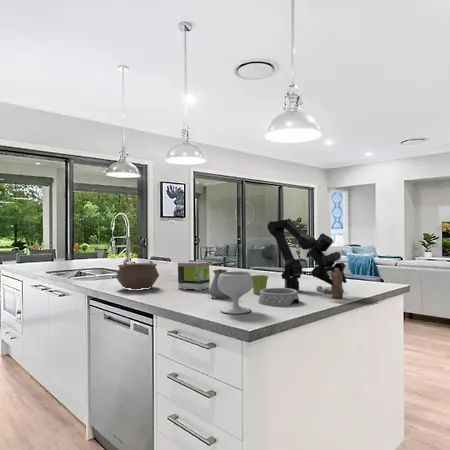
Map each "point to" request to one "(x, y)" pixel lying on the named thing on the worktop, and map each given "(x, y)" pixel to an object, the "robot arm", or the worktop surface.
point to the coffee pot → (214, 288)
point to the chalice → (235, 289)
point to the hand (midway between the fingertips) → (339, 283)
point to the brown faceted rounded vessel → (137, 275)
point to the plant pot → (259, 283)
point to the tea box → (193, 275)
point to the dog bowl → (278, 296)
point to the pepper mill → (337, 284)
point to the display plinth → (325, 289)
